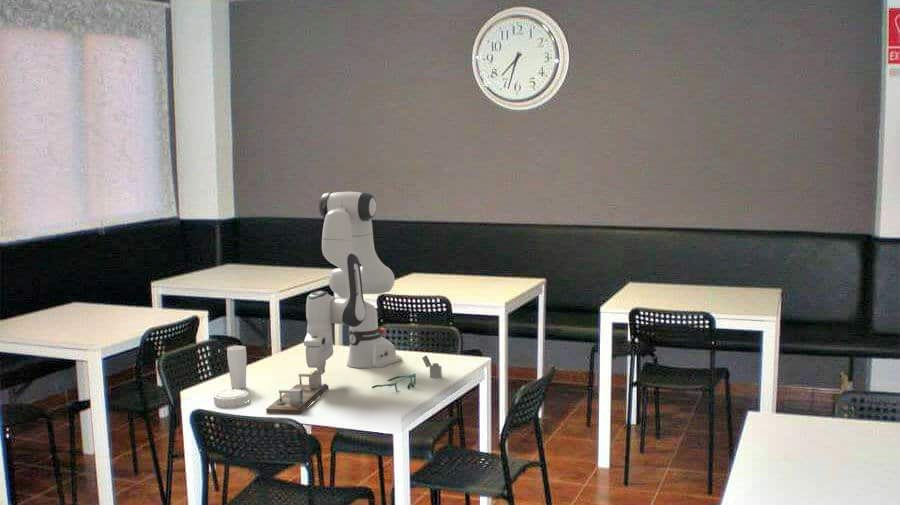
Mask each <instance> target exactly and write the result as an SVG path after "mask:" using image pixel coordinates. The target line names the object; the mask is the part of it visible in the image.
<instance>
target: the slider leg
mask: <svg viewBox="0 0 900 505" xmlns="http://www.w3.org/2000/svg"><path fill="white" fill-rule="evenodd" d="M310 371H311V370H310ZM302 377H308V385H309V388H320V387H321V386H322V385H323V383H322V375H321V373H320V372H318V370H317V369H316V370H312V371H311V372H310V373H298V378H299V384H300V385H303V383H302V382H303V381H302Z"/></svg>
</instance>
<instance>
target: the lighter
mask: <svg viewBox="0 0 900 505" xmlns="http://www.w3.org/2000/svg"><path fill="white" fill-rule="evenodd" d="M421 359H422V361H423V362H424V364H425V367H426V368H429V378H430V379H431V378H433V379H442V376H443V374H442V373H443V372H442V371H443V370H442V368H443V367H442V365H440V364H439V363H437V362H433V363H432V364H431V361H430V358H429V357H428V355H424V356H422V358H421Z"/></svg>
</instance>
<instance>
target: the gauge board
mask: <svg viewBox="0 0 900 505" xmlns="http://www.w3.org/2000/svg"><path fill="white" fill-rule="evenodd" d="M291 389H302V390H303V401H305V400H306V399H307V398H308V397H309V396H310V395H311V394H313V393H314V392H315V391H316V390H317V389H318V388H309V384H302V385H300V383H299V384H295V385H294V386H292V388H290V389H289V390H291ZM328 390H329V385H328V384H327V386H326V387H325V388H324V389H323V390H321V391H320V392H319V393H318V394H317V395H316V396H315V397H314V398H312V399H311V400H310V401H309V402H308V403H307V404H306V405H305V406H303V407H302V408H301V409H298V406H294V405H290V396H289V393H283V394H282V402H280V397H279V398H278V399H277V400H275V401H274V402H273V403H272V404H270V405H269V406H267V408H266V409H265V412H266V413H265V414H283V415H285V414H286V415H301V414H303V413H304V412H306V410H307V409H308V408H309V407H310V406H311V405H310V404H311V403H312V402H313V401H315V400H316V399H317V398H318V397H319V396H320V397H322V396H323V395H324V394H325V393H326V392H328ZM324 392H325V393H324ZM323 393H324V394H323ZM322 394H323V395H322ZM321 395H322V396H321ZM320 397H319V398H320ZM319 398H318V399H319ZM318 399H317V400H318ZM317 400H316V401H317ZM316 401H315V402H316ZM309 405H310V406H309ZM308 406H309V407H308ZM307 407H308V408H307Z"/></svg>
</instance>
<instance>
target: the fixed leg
mask: <svg viewBox="0 0 900 505" xmlns="http://www.w3.org/2000/svg"><path fill="white" fill-rule="evenodd" d="M327 385H328V384H327V383H322V386H321V387H320V388H318V389H317V390H316V391H315V392H314V393H313V394H311V395H310V396H309V397H308V398H307V399H306V400H305V401H303V390H302V389H292V388H290V389H291V390H290V389H279V390H278V393H279V398H280V402H282V396H283V394H285V393H289V396H290V405H294V406H298V409H301V408H302V407H303V406H305V405H306V404H307V403H308V402H309V401H310V400H311V399H312V398H314V397H315V396H316V395H317V394H318V393H319V392H320V391H321V390H323V389H324V388H325V387H326V386H327Z"/></svg>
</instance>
